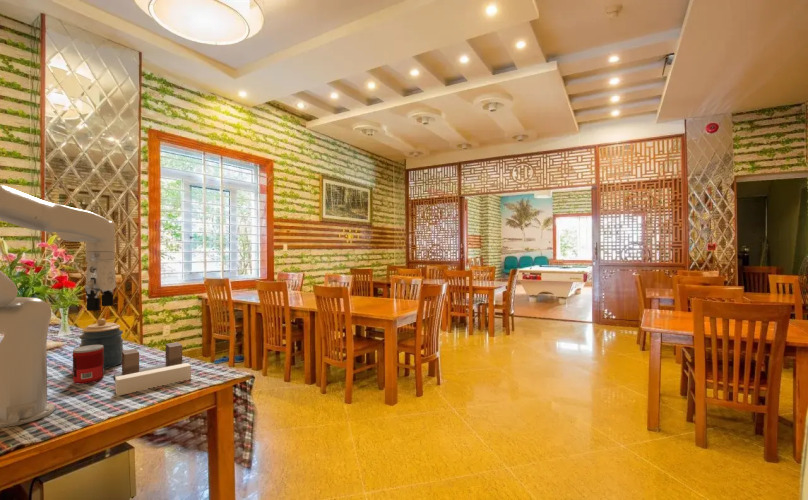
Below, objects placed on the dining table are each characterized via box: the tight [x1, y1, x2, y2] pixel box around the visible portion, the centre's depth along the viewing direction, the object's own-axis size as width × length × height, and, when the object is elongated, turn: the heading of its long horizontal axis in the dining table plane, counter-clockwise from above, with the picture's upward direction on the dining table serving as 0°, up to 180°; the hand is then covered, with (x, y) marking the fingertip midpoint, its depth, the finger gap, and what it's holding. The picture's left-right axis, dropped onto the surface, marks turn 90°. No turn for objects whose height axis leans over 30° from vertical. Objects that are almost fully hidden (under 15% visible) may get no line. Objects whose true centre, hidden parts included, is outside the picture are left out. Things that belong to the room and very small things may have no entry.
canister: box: [78, 318, 124, 369], centre depth 141 cm, size 13×13×18 cm
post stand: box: [113, 341, 186, 379], centre depth 132 cm, size 10×21×9 cm, turn 134°
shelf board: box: [114, 362, 192, 397], centre depth 121 cm, size 4×20×5 cm, turn 134°
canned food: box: [72, 345, 105, 385], centre depth 126 cm, size 8×8×11 cm
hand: (100, 308), depth 125 cm, fingers open, 9 cm apart
